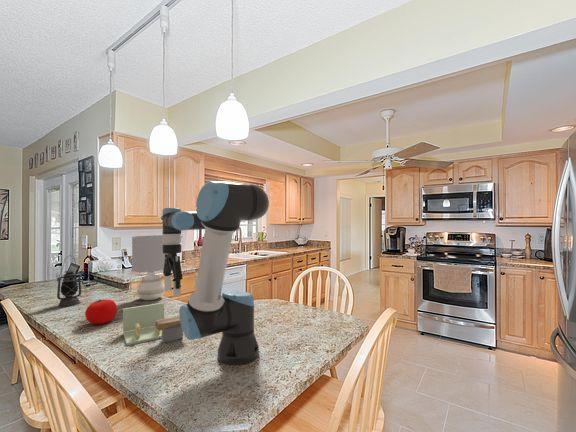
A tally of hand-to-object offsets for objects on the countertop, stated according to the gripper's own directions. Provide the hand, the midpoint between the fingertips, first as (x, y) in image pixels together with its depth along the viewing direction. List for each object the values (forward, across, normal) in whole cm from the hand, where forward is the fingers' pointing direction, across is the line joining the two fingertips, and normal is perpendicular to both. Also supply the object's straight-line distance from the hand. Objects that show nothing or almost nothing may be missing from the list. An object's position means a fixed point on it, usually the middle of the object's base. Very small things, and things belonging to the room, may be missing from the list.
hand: (172, 293), depth 125 cm
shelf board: (+13, -2, +1) cm, 13 cm away
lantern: (+18, +92, +35) cm, 100 cm away
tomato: (+18, +42, +22) cm, 51 cm away
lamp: (+18, +75, -7) cm, 78 cm away
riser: (+19, -1, +1) cm, 19 cm away
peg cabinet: (+19, +11, +8) cm, 23 cm away
